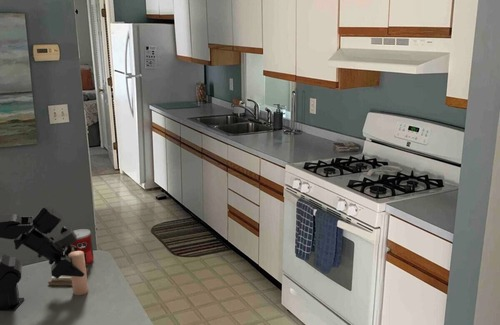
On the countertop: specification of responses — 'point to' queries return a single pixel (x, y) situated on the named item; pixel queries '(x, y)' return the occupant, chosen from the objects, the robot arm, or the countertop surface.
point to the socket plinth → (62, 280)
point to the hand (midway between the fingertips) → (83, 270)
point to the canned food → (83, 244)
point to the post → (77, 282)
